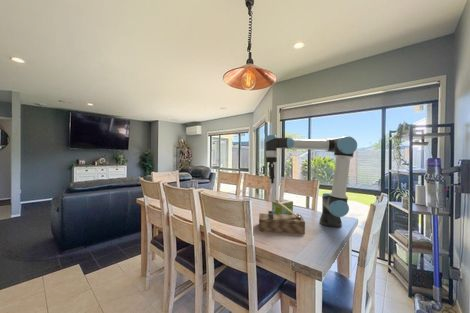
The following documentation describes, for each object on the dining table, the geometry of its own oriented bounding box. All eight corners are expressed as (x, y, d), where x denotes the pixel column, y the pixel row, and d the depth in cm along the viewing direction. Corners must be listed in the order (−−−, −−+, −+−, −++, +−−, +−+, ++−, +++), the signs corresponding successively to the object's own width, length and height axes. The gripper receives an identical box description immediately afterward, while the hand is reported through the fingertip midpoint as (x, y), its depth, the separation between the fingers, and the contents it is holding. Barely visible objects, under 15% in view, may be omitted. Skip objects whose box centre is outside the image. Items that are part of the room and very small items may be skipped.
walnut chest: (301, 225, 151) (301, 210, 151) (305, 233, 137) (305, 217, 137) (259, 223, 155) (259, 209, 154) (259, 231, 141) (259, 215, 140)
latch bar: (298, 217, 146) (300, 215, 146) (299, 219, 142) (301, 217, 142) (274, 199, 148) (275, 198, 148) (274, 201, 144) (276, 199, 144)
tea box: (281, 223, 156) (282, 203, 156) (271, 220, 164) (271, 201, 164) (293, 219, 166) (293, 200, 166) (282, 216, 174) (282, 198, 174)
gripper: (265, 156, 161) (266, 183, 162) (266, 157, 137) (267, 189, 137) (275, 156, 160) (275, 183, 161) (278, 157, 136) (278, 189, 136)
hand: (271, 186), depth 149 cm, fingers open, 13 cm apart
